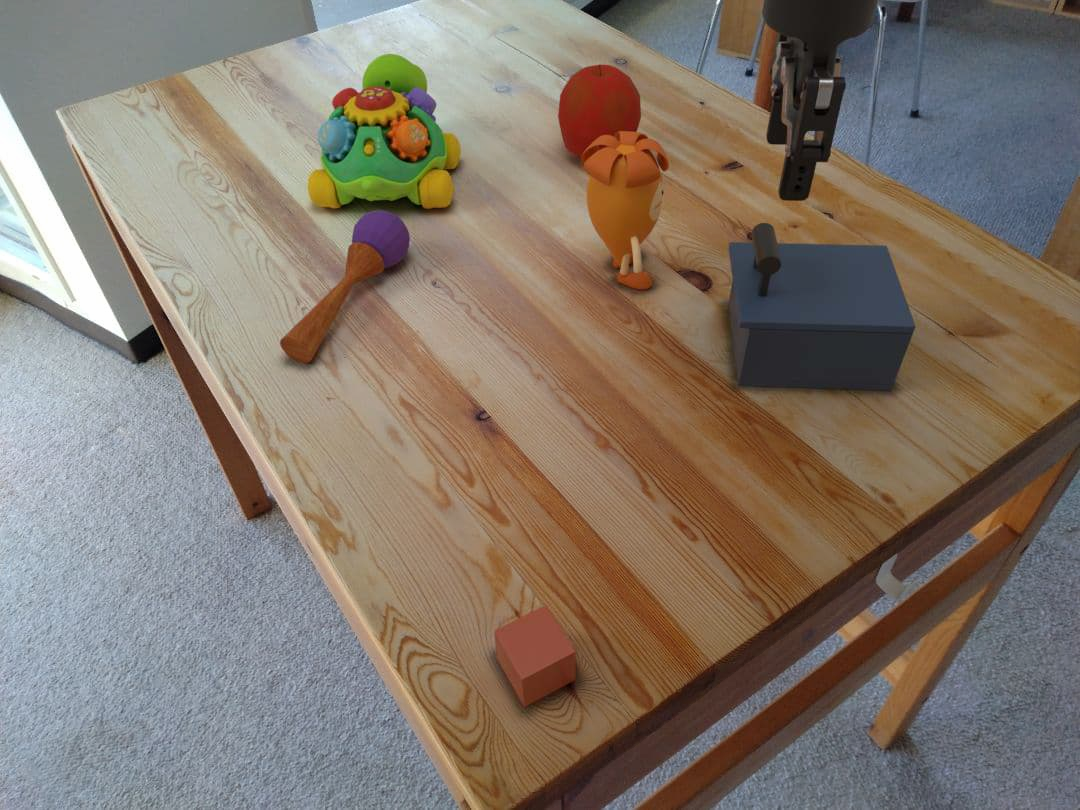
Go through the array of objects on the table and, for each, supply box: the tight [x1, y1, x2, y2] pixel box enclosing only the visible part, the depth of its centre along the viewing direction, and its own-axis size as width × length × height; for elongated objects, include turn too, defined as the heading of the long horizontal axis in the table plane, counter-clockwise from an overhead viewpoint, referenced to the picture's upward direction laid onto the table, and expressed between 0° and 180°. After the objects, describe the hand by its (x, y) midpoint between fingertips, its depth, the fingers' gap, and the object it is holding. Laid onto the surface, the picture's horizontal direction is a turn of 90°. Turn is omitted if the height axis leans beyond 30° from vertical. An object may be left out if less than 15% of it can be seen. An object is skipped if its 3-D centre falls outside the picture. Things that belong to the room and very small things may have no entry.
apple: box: [557, 64, 642, 160], centre depth 102 cm, size 10×10×12 cm
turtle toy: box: [307, 53, 462, 210], centre depth 100 cm, size 17×23×12 cm
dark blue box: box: [727, 280, 914, 392], centre depth 78 cm, size 14×12×7 cm
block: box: [493, 604, 577, 708], centre depth 57 cm, size 4×4×4 cm
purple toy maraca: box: [279, 209, 411, 364], centre depth 86 cm, size 6×6×20 cm
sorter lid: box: [728, 222, 916, 334], centre depth 74 cm, size 14×12×5 cm
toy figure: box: [580, 131, 670, 291], centre depth 84 cm, size 12×8×15 cm
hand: (785, 169), depth 68 cm, fingers open, 8 cm apart
